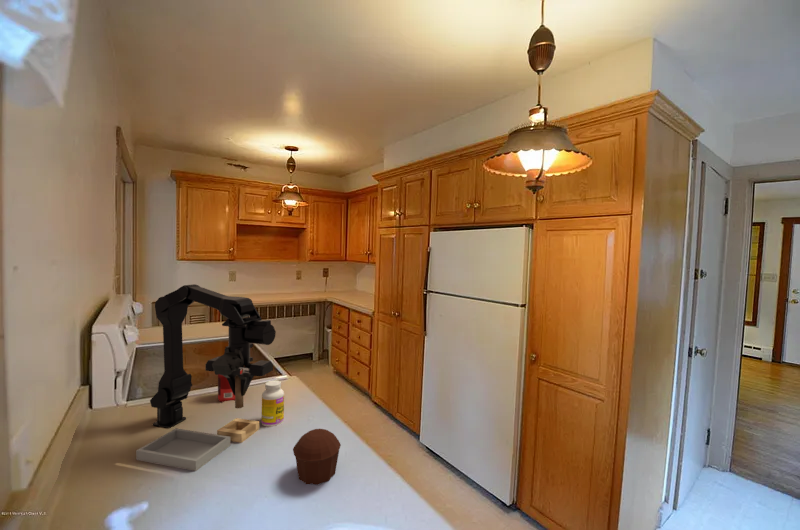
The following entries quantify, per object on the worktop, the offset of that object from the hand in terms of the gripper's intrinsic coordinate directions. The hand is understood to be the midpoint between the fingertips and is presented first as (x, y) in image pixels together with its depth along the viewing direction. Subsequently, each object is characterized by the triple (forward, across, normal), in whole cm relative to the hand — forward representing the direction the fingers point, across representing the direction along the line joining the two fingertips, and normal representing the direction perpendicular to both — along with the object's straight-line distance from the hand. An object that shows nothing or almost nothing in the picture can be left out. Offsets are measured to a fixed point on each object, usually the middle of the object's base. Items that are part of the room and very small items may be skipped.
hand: (239, 395), depth 104 cm
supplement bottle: (+12, +5, +10) cm, 16 cm away
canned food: (+12, -21, +22) cm, 33 cm away
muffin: (+12, +30, -10) cm, 34 cm away
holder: (+12, 0, 0) cm, 12 cm away
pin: (+3, 0, 0) cm, 3 cm away
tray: (+12, -7, -12) cm, 18 cm away
